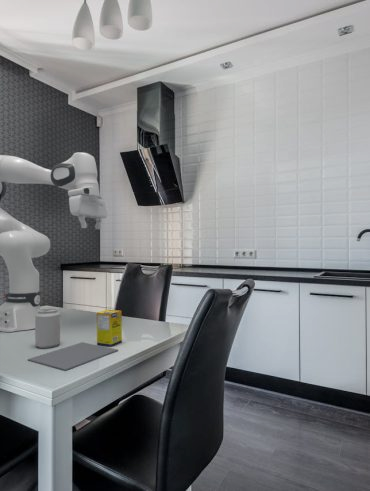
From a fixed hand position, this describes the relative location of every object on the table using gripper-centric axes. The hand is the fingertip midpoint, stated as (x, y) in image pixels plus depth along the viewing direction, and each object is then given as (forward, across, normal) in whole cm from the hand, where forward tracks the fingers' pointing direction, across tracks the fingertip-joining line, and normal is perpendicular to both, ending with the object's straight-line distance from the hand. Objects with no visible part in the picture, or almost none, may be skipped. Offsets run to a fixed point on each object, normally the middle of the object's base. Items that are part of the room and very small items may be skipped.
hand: (91, 228), depth 131 cm
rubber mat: (+41, +28, +8) cm, 50 cm away
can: (+39, +22, -7) cm, 46 cm away
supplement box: (+41, +14, +11) cm, 45 cm away
